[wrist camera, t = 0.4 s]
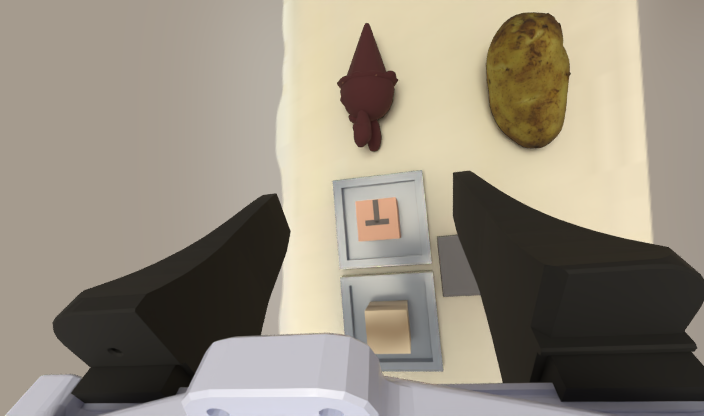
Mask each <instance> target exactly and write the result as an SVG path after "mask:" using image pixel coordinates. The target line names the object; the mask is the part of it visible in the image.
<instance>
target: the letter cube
mask: <svg viewBox="0 0 704 416" xmlns="http://www.w3.org/2000/svg"><path fill="white" fill-rule="evenodd" d="M355 205H356V217H357V229H358V240H359V242H361V241H374V240H386V239H399V238H401V231H400V220H399V210H398V201H397V199H396V197H392V198H382V199H373V200H363V201H355Z"/></svg>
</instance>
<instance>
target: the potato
mask: <svg viewBox="0 0 704 416" xmlns="http://www.w3.org/2000/svg"><path fill="white" fill-rule="evenodd" d="M486 69H487V83H488V89H489V102H490V108H491V111H492V113H493V116H494V118H495V120H496V122H497V124H498V126H499V127H500V128H501V130H502V131H503V132H504V133H505V134H506V135H507V136H508V137H510V138H511V139H512V140H514V141H515V142H516V143H518V144H519V145H521V146H523V147H526V148H541V147H544V146H546V145H547V144H549V143H550V142H551V141H552V140H554V139H555V138H556V137H557V136H558V134H559V133H560V131H561V130H562V126H563V123H564V118H565V112H566V104H567V92H568V83H569V76H570V74H571V73H570V64H569V58H568V55H567V53H566V50H565V48H564V47H563V35H562V30H561V25H560V23H558V22H557V21H556V20H555V18H554V17H553V16H552V15H550V14H549V13H547V14H545V13H534V12H533V13H521V14H518V15H515V16H513V17H511V18H510V19H508V20H507V21H506V22H504V24H503V25H502V26H501V27H500V29H499V30H498V31H497V33H496V34H495V36H494V37H493V40H492V42H491V45H490V47H489V50H488V54H487V63H486Z"/></svg>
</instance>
